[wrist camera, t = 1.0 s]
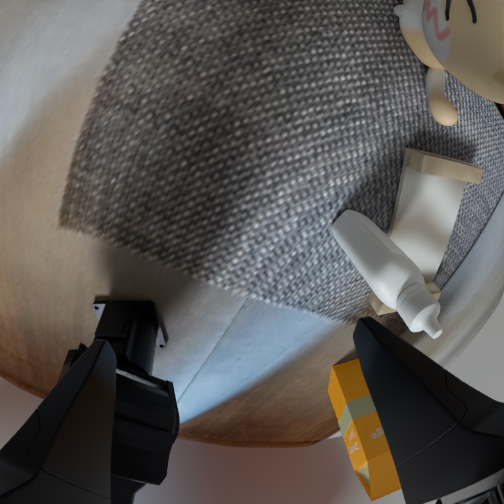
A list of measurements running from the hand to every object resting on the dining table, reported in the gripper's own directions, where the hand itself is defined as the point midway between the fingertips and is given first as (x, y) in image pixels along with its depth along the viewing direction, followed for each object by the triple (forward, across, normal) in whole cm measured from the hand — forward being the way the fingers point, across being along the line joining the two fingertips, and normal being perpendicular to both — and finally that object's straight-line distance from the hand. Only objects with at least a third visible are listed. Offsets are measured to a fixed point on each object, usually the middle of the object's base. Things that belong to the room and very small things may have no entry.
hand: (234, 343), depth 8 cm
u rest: (+13, -19, +4) cm, 24 cm away
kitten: (+13, -17, -15) cm, 26 cm away
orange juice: (+13, -18, +27) cm, 35 cm away
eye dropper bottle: (+13, -11, +4) cm, 18 cm away
